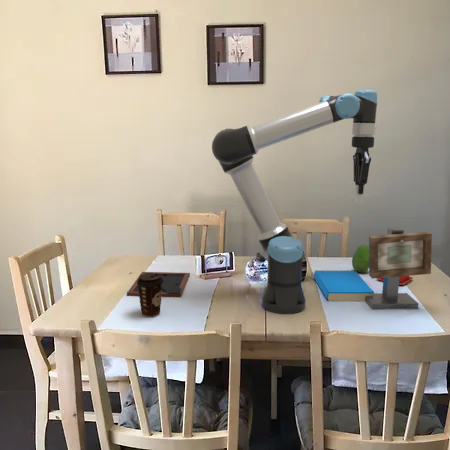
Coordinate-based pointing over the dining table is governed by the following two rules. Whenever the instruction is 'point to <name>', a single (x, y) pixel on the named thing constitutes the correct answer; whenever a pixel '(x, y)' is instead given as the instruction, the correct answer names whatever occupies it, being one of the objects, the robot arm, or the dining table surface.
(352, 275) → the book
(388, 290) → the frame stand
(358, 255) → the avocado
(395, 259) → the picture frame
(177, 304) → the dining table surface
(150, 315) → the coffee cup
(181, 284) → the picture frame
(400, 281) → the butter dish
